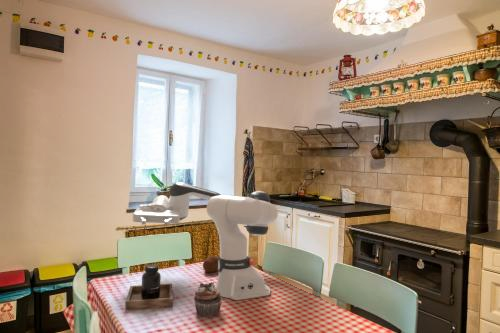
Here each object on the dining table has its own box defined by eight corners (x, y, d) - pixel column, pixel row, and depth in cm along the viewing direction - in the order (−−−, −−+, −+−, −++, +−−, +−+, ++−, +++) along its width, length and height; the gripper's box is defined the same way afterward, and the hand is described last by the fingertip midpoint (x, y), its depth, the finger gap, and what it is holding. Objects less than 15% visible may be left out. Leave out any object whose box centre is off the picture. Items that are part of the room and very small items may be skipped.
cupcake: (197, 320, 113) (198, 290, 113) (191, 309, 122) (192, 281, 122) (225, 316, 117) (226, 287, 117) (217, 305, 126) (217, 278, 126)
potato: (198, 273, 162) (198, 257, 162) (208, 267, 172) (208, 252, 172) (214, 275, 159) (215, 259, 159) (224, 269, 169) (224, 254, 169)
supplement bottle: (154, 302, 125) (155, 269, 125) (137, 300, 127) (138, 267, 127) (163, 295, 132) (163, 264, 132) (147, 293, 133) (147, 262, 133)
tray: (171, 291, 139) (172, 283, 139) (172, 307, 123) (172, 298, 123) (130, 293, 135) (130, 286, 135) (125, 310, 120) (125, 301, 120)
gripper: (181, 219, 161) (179, 230, 148) (135, 217, 158) (130, 229, 144) (181, 206, 160) (180, 216, 146) (136, 204, 156) (130, 215, 143)
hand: (155, 223), depth 145 cm, fingers open, 8 cm apart
